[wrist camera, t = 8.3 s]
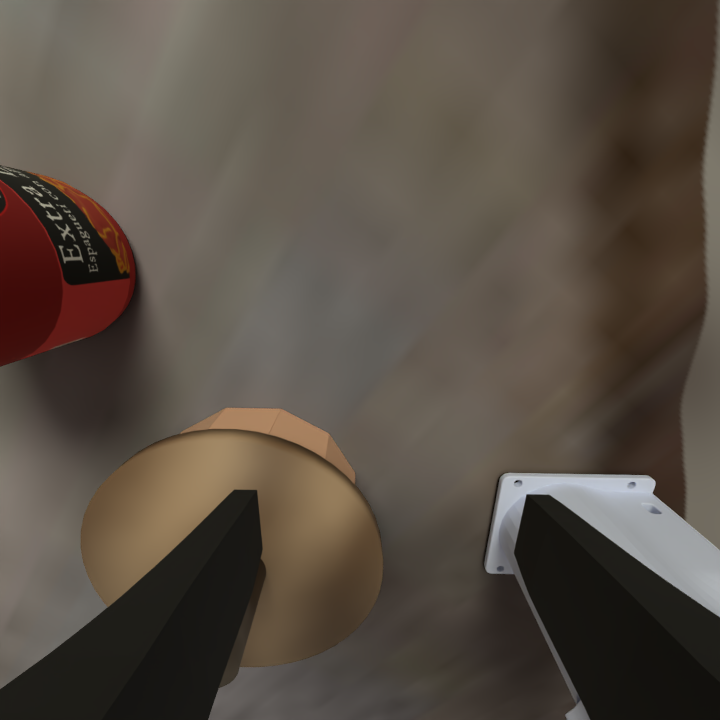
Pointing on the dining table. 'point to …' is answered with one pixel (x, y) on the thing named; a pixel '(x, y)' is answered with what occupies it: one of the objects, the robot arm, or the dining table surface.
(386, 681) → the dining table surface
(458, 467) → the dining table surface
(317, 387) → the dining table surface
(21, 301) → the canned food
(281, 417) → the bowl
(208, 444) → the lid
